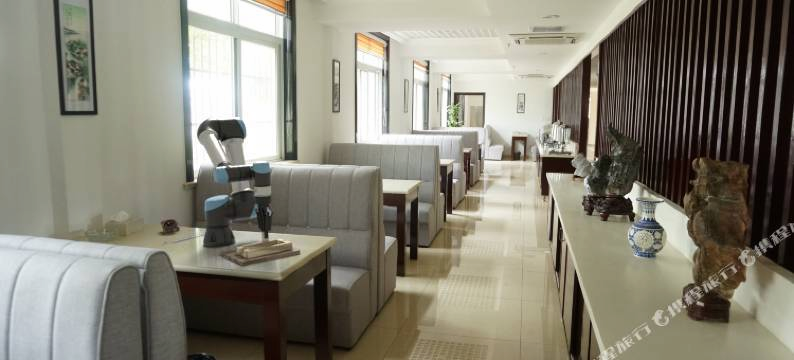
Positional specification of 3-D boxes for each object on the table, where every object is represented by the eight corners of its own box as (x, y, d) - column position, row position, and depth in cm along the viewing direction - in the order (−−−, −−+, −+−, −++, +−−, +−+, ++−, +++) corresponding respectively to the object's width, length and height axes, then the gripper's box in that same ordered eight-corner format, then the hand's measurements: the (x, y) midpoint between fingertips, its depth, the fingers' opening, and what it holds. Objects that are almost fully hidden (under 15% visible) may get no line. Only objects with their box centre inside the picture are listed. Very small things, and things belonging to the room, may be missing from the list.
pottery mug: (185, 231, 304) (181, 220, 299) (172, 242, 297) (169, 231, 292) (168, 224, 308) (164, 213, 303) (155, 235, 301) (152, 223, 296)
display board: (219, 255, 251) (219, 251, 251) (274, 244, 269) (274, 240, 269) (242, 266, 233) (242, 262, 233) (300, 253, 251) (300, 250, 251)
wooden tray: (235, 253, 247) (235, 246, 246) (278, 244, 261) (278, 237, 261) (248, 258, 238) (248, 250, 237) (292, 248, 252) (292, 241, 252)
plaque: (204, 231, 303) (204, 230, 303) (216, 233, 298) (216, 232, 298) (151, 244, 275) (151, 243, 275) (163, 246, 270) (163, 245, 270)
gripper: (248, 194, 256) (251, 243, 260) (262, 197, 246) (265, 249, 250) (263, 192, 261) (266, 240, 265) (277, 195, 251) (279, 245, 255)
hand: (265, 244), depth 257 cm, fingers closed
